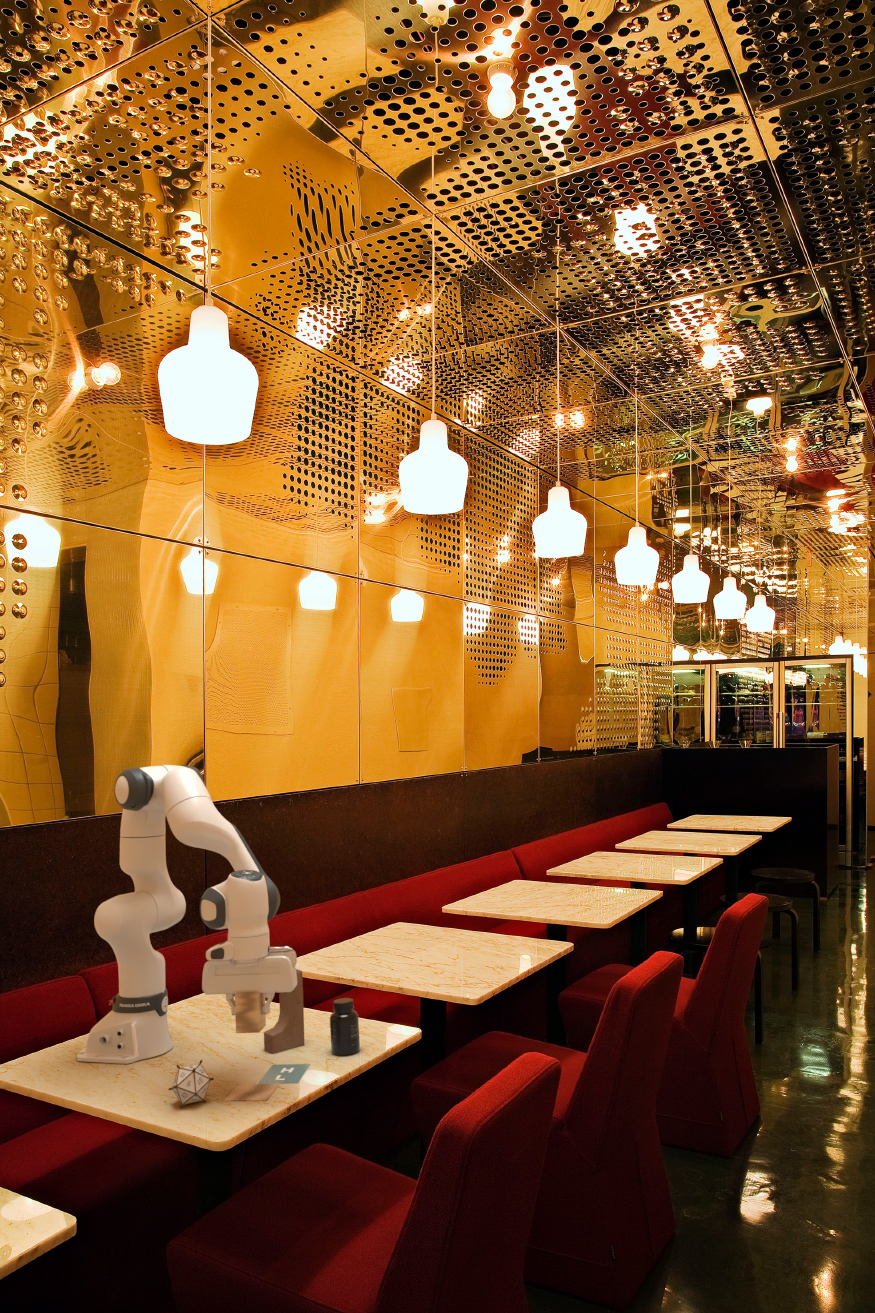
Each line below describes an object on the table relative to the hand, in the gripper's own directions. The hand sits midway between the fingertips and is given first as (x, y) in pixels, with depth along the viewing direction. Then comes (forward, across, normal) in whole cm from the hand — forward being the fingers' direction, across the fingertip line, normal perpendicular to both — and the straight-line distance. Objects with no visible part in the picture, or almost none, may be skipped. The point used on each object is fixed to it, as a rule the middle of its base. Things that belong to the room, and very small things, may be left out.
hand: (250, 1014), depth 186 cm
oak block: (+3, 0, 0) cm, 3 cm away
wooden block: (+16, +1, -29) cm, 33 cm away
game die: (+16, +12, +5) cm, 21 cm away
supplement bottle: (+16, -15, -25) cm, 33 cm away
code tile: (+16, -4, -11) cm, 20 cm away
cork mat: (+16, 0, 0) cm, 16 cm away
